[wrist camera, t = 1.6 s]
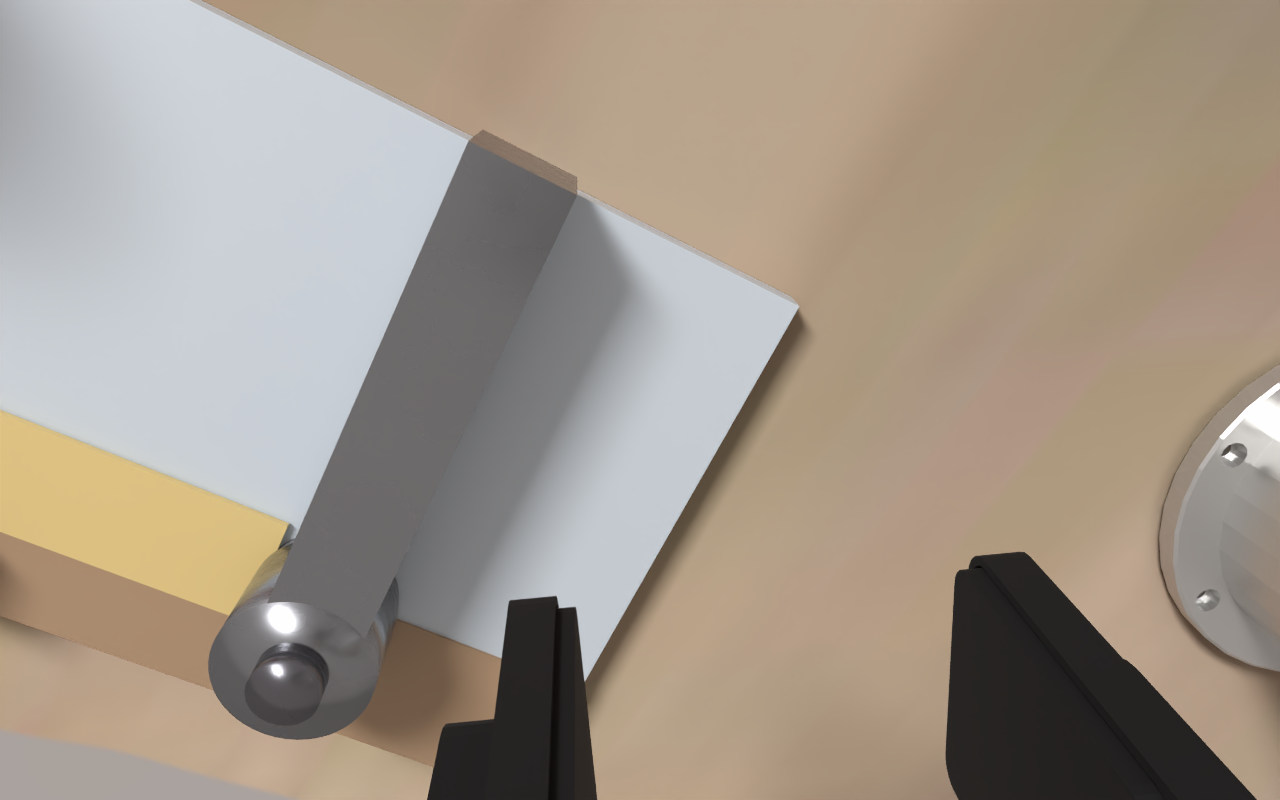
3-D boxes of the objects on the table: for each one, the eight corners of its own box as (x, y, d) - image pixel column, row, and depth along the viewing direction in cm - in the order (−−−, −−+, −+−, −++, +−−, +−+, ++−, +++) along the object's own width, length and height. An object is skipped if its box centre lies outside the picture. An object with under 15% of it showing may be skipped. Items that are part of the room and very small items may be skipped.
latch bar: (366, 683, 31) (332, 784, 27) (229, 633, 30) (171, 730, 26) (606, 192, 26) (612, 218, 22) (451, 113, 25) (425, 125, 21)
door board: (790, 296, 29) (822, 331, 25) (521, 771, 35) (515, 857, 31) (-89, -145, 24) (-213, -184, 20) (-241, 500, 29) (-360, 565, 26)
